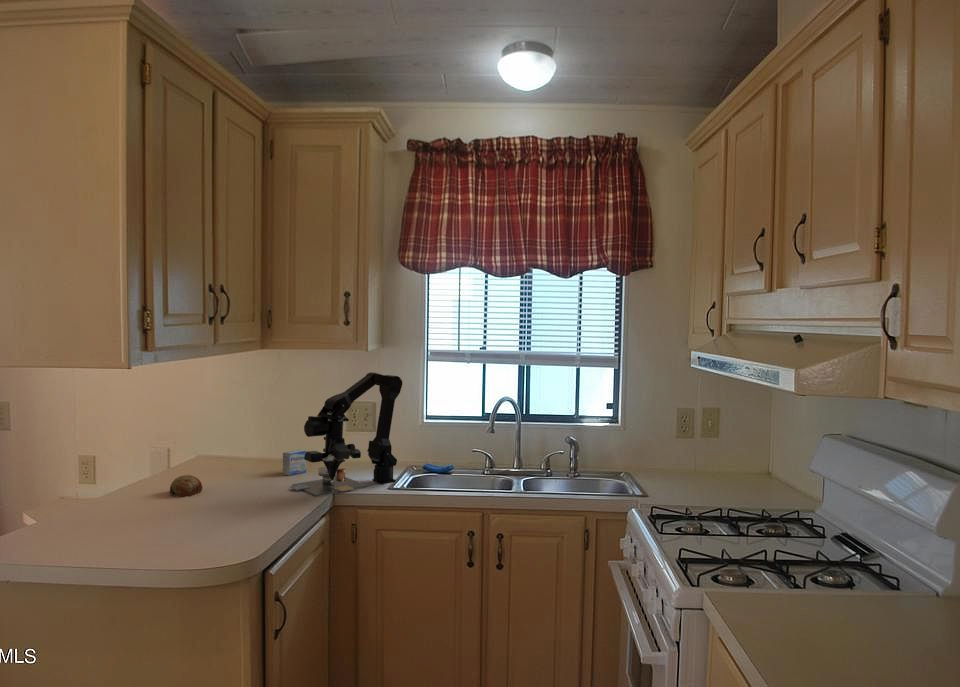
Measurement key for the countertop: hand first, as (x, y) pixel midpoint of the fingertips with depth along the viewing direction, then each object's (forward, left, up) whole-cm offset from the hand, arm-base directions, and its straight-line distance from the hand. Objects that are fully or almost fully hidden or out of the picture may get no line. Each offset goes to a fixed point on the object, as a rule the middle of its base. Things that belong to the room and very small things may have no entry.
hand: (332, 479), depth 212 cm
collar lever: (-4, -6, -1) cm, 7 cm away
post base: (-2, -7, -5) cm, 9 cm away
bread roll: (+38, -31, -5) cm, 49 cm away
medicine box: (-2, -34, -5) cm, 34 cm away
